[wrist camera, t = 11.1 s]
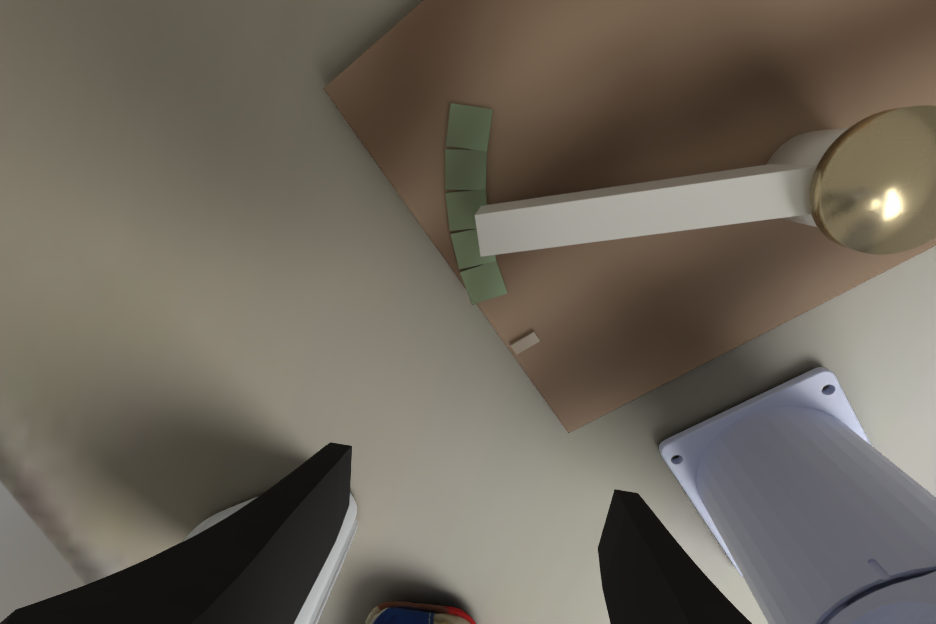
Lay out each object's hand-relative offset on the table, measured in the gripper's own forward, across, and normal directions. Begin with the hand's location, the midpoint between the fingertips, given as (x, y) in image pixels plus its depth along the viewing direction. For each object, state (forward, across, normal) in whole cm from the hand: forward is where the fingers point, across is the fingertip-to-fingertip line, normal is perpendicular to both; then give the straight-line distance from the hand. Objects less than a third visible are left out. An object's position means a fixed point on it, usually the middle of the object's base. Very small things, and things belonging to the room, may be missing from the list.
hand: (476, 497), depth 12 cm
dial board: (+9, -6, -11) cm, 16 cm away
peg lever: (+8, -6, -8) cm, 13 cm away
